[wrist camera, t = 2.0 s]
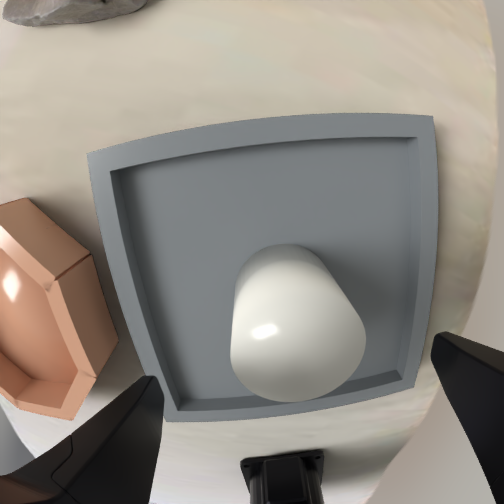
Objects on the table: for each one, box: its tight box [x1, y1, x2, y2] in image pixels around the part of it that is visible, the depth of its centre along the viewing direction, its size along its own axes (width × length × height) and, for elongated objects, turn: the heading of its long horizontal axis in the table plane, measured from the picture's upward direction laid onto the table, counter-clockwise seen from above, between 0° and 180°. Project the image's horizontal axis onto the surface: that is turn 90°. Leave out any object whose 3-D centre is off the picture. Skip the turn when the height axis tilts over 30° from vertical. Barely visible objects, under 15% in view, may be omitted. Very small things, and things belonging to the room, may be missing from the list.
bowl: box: [0, 198, 119, 421], centre depth 13 cm, size 13×13×4 cm
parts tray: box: [87, 113, 438, 422], centre depth 14 cm, size 15×15×2 cm
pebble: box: [230, 244, 366, 402], centre depth 12 cm, size 4×4×5 cm
